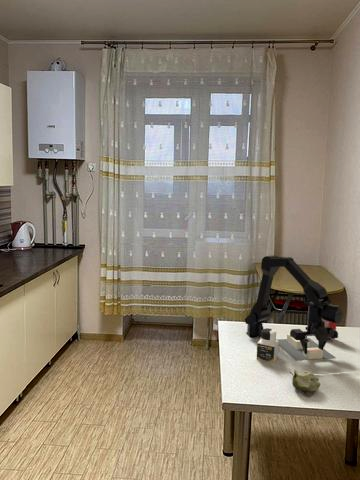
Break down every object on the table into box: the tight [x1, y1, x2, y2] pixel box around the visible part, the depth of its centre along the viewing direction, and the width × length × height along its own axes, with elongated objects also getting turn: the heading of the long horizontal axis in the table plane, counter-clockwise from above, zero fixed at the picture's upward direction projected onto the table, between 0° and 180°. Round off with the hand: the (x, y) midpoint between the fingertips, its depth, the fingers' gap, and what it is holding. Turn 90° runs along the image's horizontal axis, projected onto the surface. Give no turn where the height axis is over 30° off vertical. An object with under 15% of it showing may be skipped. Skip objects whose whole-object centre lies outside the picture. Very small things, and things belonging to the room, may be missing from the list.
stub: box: [303, 347, 323, 360], centre depth 171 cm, size 6×5×3 cm
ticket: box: [286, 333, 310, 349], centre depth 184 cm, size 6×10×3 cm, turn 11°
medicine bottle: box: [256, 327, 280, 363], centre depth 169 cm, size 7×7×12 cm
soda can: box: [322, 319, 337, 342], centre depth 192 cm, size 7×7×12 cm
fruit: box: [289, 369, 321, 399], centre depth 143 cm, size 9×9×8 cm
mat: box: [276, 337, 337, 362], centre depth 180 cm, size 18×23×1 cm
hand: (312, 353), depth 171 cm, fingers closed on stub, 6 cm apart
